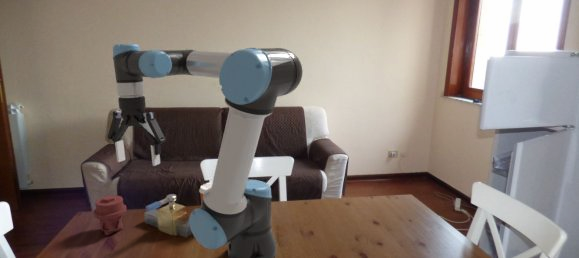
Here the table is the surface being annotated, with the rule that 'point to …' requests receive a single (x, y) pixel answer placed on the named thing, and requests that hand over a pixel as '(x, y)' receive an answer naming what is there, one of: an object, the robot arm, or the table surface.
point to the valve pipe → (170, 219)
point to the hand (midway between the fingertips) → (138, 162)
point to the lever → (161, 202)
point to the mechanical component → (110, 213)
